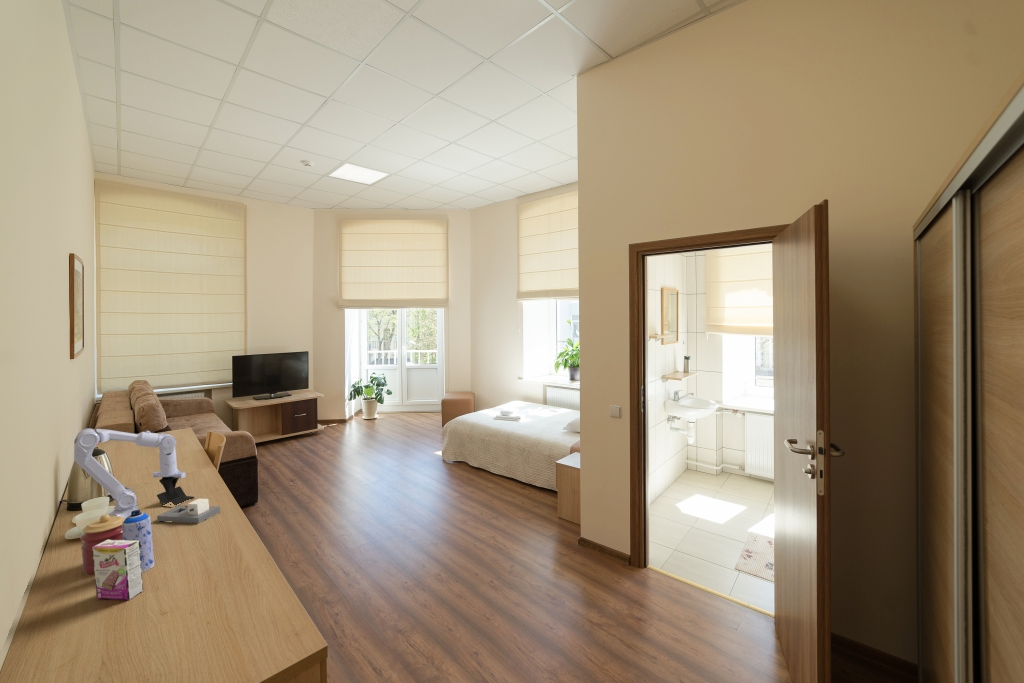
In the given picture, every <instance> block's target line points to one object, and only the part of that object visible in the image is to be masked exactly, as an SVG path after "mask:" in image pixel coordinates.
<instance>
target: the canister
mask: <svg viewBox="0 0 1024 683" xmlns="http://www.w3.org/2000/svg"><path fill="white" fill-rule="evenodd" d="M108 514H109V513H108ZM108 514H102V515H100V517H99V519H97V520H94V521H92V522H90V523H89V524H88V525H87V526H85V527H84V528H83V529H82V532H83V533H82V534H81V535H80V537H79V539H80V541H81V542H82V545H81V546H80V550H81V557H82V559H81V560H82V565H81V566H82V570H83V573H84V572H85V574H86V573H87V574H86V575H95V572H94V561H93V550H92V547H93V546H95V545H97V544H99V543H101V542H103V541H105V540H123V532H122V522H123V521H124V520H125V519H126V518H124V517H120V516H111V517H110V516H109V515H108Z"/></svg>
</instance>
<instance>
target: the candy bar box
mask: <svg viewBox="0 0 1024 683" xmlns="http://www.w3.org/2000/svg"><path fill="white" fill-rule="evenodd" d="M92 550H93V561H94V572H95V574H94V580H95V594H96V599H97V600H114V601H116V600H117V601H118V600H119V601H130V600H132V599H133V597H134V598H135V597H136V596H138V595H139V594H141V593H143V592H144V586H143V585H144V584H143V575H142V574H143V572H142V571H141V559H140V546H139V541H137V540H105V541H103V542H101V543H99V544H97V545H95V546H93V547H92ZM140 592H141V593H140ZM137 594H138V595H137Z"/></svg>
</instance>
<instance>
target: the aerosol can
mask: <svg viewBox="0 0 1024 683" xmlns="http://www.w3.org/2000/svg"><path fill="white" fill-rule="evenodd" d="M151 518H152V517H151V516H150V515H149V514H147V513H146V512H145V513H144V512H142V511H141V510H140V509H138V510H134V511H131V515H130V516H129V517H127V518H126V519H125V520H124V521H123V522H122V532H123V540H137V541H139V546H140V559H141V571H142V573H144V572H143V571H145V572H147V571H149V570H151V569H152V568H154V567H153V566H155V565H154V564H156V563H155V557H154V545H153V532H152V519H151ZM150 568H151V569H150ZM148 569H149V570H148ZM146 570H147V571H146Z"/></svg>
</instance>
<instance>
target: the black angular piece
mask: <svg viewBox="0 0 1024 683" xmlns="http://www.w3.org/2000/svg"><path fill="white" fill-rule="evenodd" d="M156 497H157V499H158V500H159V502H160V504H161V505H162V506H163V505H165V504H167V503H169V502H172V503H173V504H174V505H177V504H179V503H182V502H184V501H186V500H189V499H192V498H194V497H195V496H191V495H190V496H189V495H187V494H185V492H184V490H183V488H182V487H181V486H180V485H179V486H175V490H174V493H173V494H170V495H167V493H166V491H162V492H161V493H158V494H156ZM194 499H195V498H194ZM192 500H193V499H192ZM182 504H183V503H182ZM170 505H171V504H170Z"/></svg>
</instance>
